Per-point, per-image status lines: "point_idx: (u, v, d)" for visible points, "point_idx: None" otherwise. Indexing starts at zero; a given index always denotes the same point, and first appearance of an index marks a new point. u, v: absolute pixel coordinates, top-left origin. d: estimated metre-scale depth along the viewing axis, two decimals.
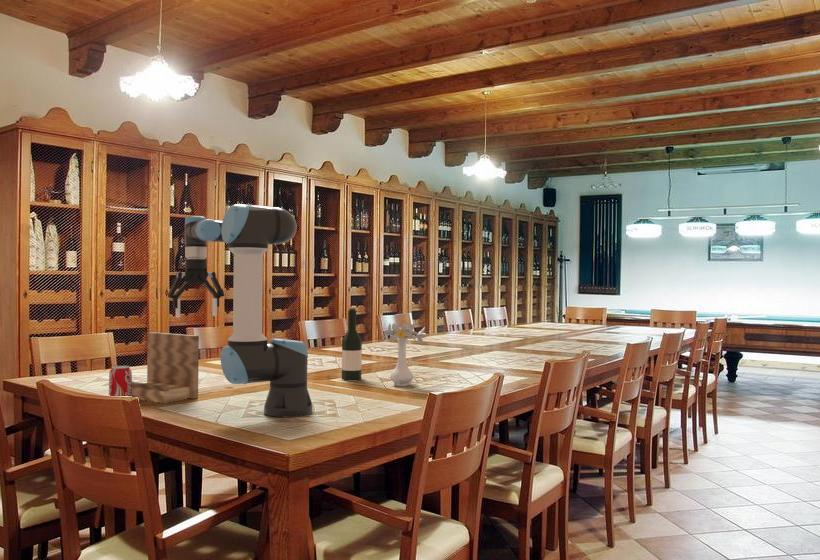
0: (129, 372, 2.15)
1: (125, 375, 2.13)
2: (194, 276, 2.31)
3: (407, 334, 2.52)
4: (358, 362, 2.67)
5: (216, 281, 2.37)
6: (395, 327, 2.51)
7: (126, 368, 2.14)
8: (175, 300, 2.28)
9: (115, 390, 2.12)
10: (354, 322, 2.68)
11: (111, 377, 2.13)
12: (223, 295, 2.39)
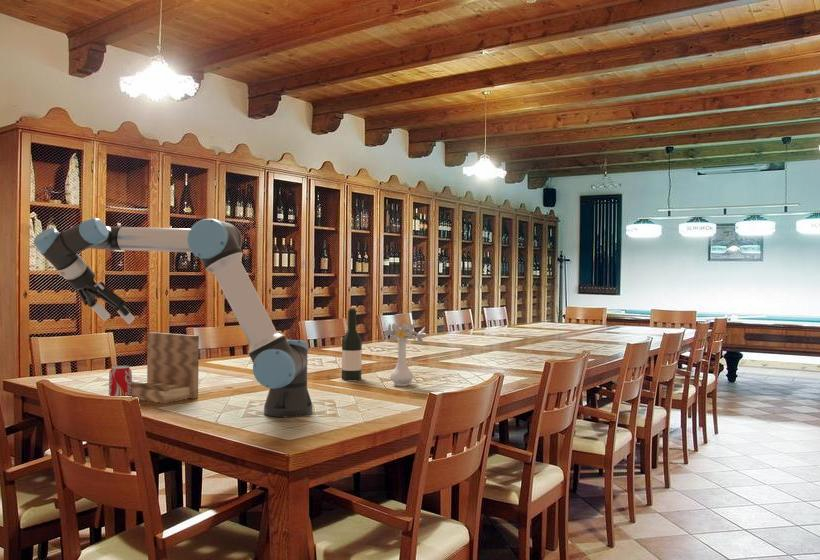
0: (129, 372, 2.15)
1: (125, 375, 2.13)
2: None
3: (407, 334, 2.52)
4: (358, 362, 2.67)
5: None
6: (395, 327, 2.51)
7: (126, 368, 2.14)
8: None
9: (115, 390, 2.12)
10: (354, 322, 2.68)
11: (111, 377, 2.13)
12: None
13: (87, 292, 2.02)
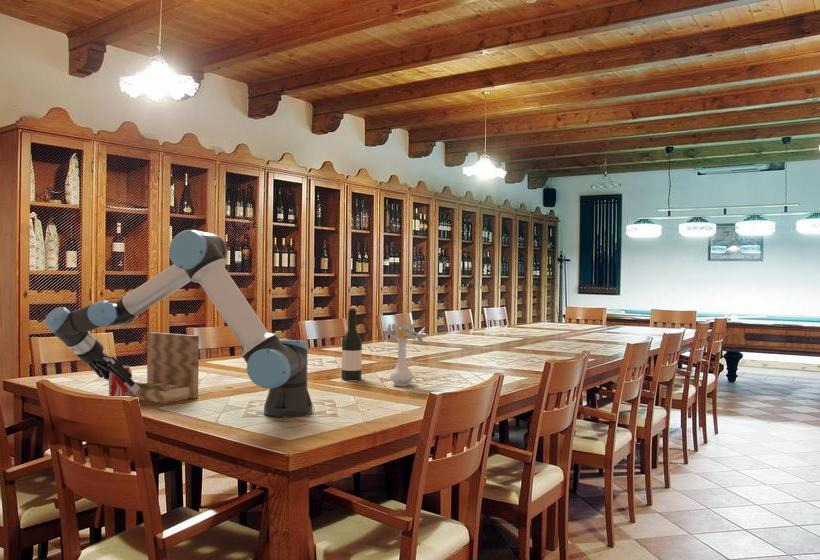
0: None
1: None
2: None
3: (407, 334, 2.52)
4: (358, 362, 2.67)
5: None
6: (395, 327, 2.51)
7: (126, 368, 2.14)
8: None
9: (115, 390, 2.12)
10: (354, 322, 2.68)
11: (111, 377, 2.13)
12: None
13: (96, 364, 2.09)
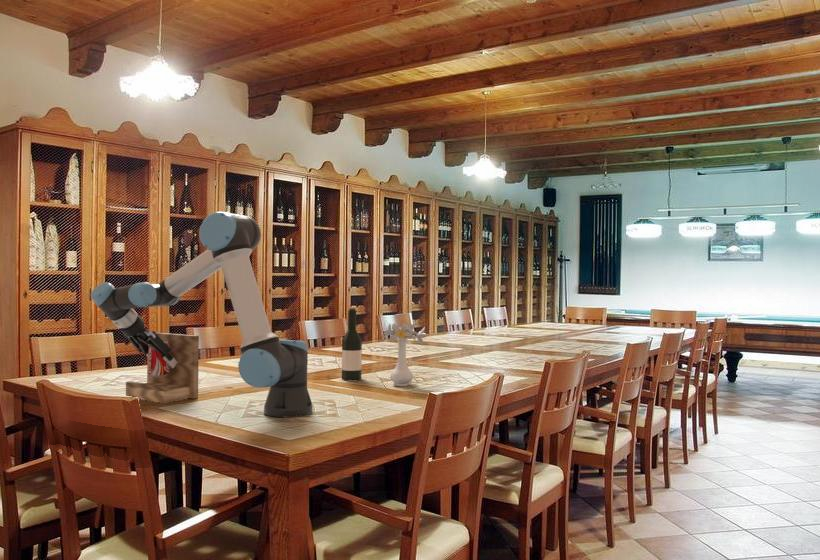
0: None
1: None
2: None
3: (407, 334, 2.52)
4: (358, 362, 2.67)
5: None
6: (395, 327, 2.51)
7: None
8: None
9: (154, 364, 2.20)
10: (354, 322, 2.68)
11: (151, 351, 2.21)
12: None
13: (137, 338, 2.17)
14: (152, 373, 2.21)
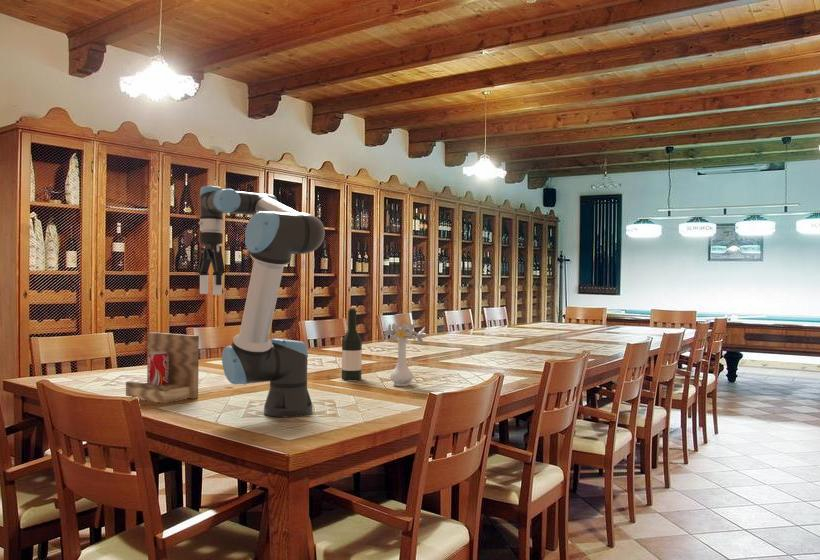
0: (166, 357, 2.23)
1: (163, 360, 2.22)
2: None
3: (407, 334, 2.52)
4: (358, 362, 2.67)
5: None
6: (395, 327, 2.51)
7: (164, 353, 2.23)
8: None
9: (153, 374, 2.21)
10: (354, 322, 2.68)
11: (150, 362, 2.21)
12: None
13: (206, 254, 2.18)
14: (151, 383, 2.21)
